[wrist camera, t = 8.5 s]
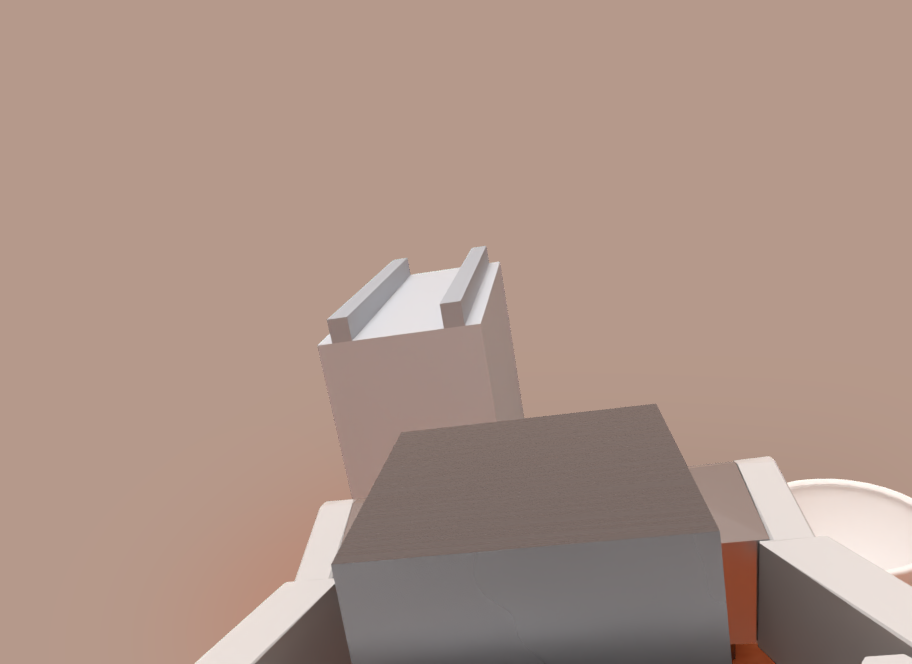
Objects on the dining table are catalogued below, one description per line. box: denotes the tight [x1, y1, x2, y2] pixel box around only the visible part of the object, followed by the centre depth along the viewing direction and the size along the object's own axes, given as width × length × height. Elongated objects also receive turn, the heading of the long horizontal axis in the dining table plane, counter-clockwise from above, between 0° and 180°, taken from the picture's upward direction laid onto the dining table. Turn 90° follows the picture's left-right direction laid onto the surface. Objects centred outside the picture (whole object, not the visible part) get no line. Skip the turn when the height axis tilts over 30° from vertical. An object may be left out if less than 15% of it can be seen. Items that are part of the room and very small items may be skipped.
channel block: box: [318, 246, 524, 500], centre depth 45 cm, size 8×16×27 cm, turn 173°
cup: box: [787, 479, 912, 586], centre depth 41 cm, size 10×10×11 cm
